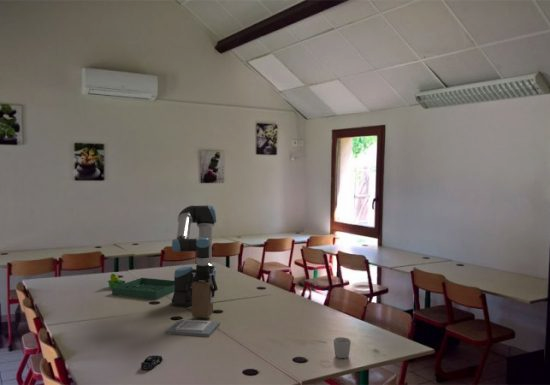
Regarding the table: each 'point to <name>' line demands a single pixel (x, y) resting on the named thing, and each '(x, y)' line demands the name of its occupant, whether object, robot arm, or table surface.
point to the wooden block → (201, 299)
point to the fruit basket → (115, 281)
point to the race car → (151, 362)
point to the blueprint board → (193, 328)
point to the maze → (145, 288)
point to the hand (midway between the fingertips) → (202, 301)
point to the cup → (342, 347)
